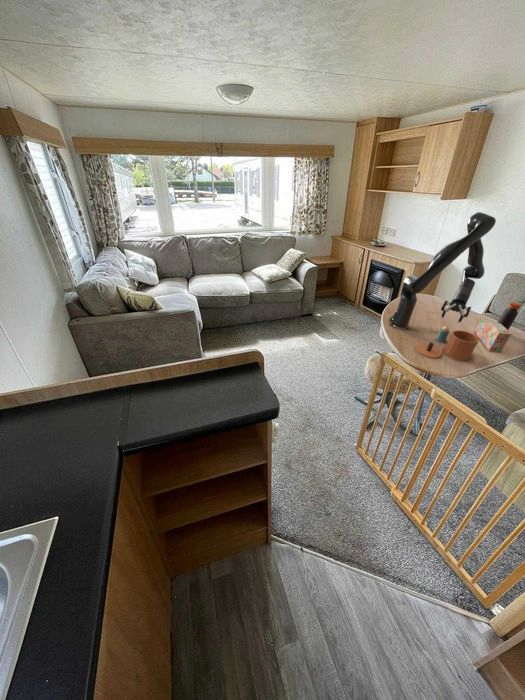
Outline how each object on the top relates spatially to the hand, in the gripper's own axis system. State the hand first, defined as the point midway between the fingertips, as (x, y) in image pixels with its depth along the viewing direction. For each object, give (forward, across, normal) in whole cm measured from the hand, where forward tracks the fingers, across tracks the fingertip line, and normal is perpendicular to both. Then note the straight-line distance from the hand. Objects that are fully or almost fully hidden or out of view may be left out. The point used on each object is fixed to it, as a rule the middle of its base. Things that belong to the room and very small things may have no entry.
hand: (450, 319), depth 171 cm
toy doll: (+13, 0, +3) cm, 14 cm away
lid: (+26, -3, -10) cm, 28 cm away
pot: (+20, +10, -4) cm, 23 cm away
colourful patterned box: (+1, +22, +16) cm, 27 cm away
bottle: (-13, +27, +29) cm, 42 cm away
